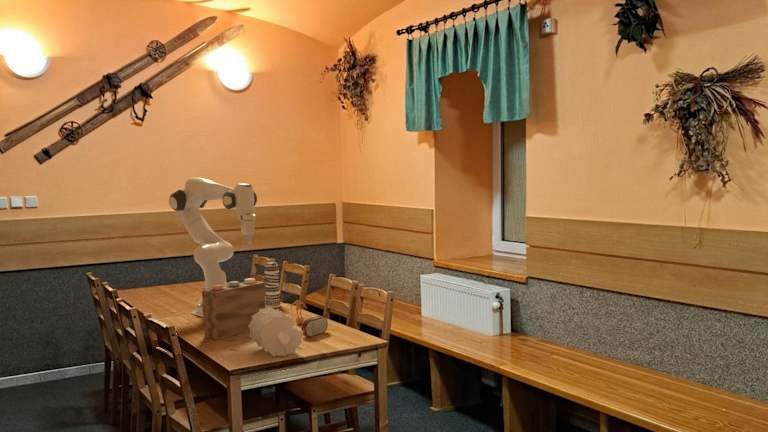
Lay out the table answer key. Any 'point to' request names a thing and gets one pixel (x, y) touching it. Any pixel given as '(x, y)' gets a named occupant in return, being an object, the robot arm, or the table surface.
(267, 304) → the decorative candle
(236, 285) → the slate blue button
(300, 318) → the figurine
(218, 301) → the button console
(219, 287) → the terracotta button
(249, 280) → the cream button
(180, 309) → the table surface
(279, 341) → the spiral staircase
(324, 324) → the tin
